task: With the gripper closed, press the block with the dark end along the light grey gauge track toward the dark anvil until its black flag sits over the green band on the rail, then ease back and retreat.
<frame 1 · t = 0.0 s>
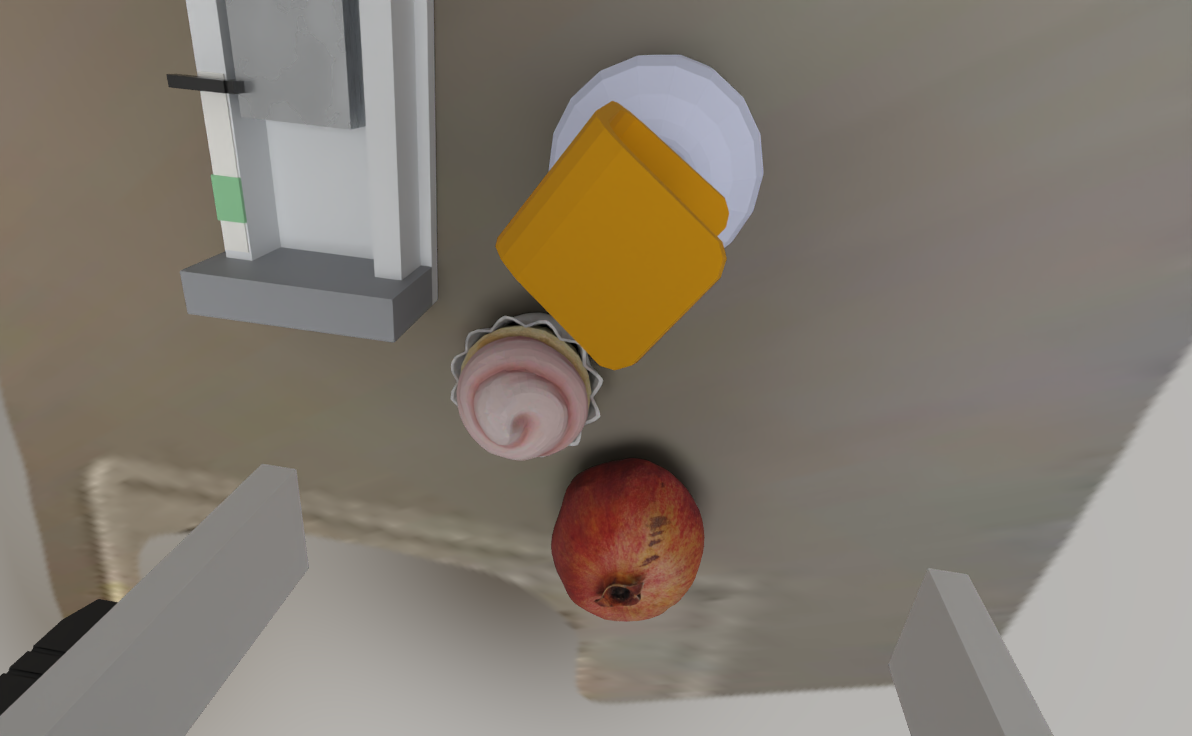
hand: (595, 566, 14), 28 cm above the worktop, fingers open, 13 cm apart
fruit: (631, 494, 47), on the worktop
cupcake: (542, 355, 44), on the worktop
soap bottle: (662, 143, 37), on the worktop
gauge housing: (332, 88, 38), on the worktop
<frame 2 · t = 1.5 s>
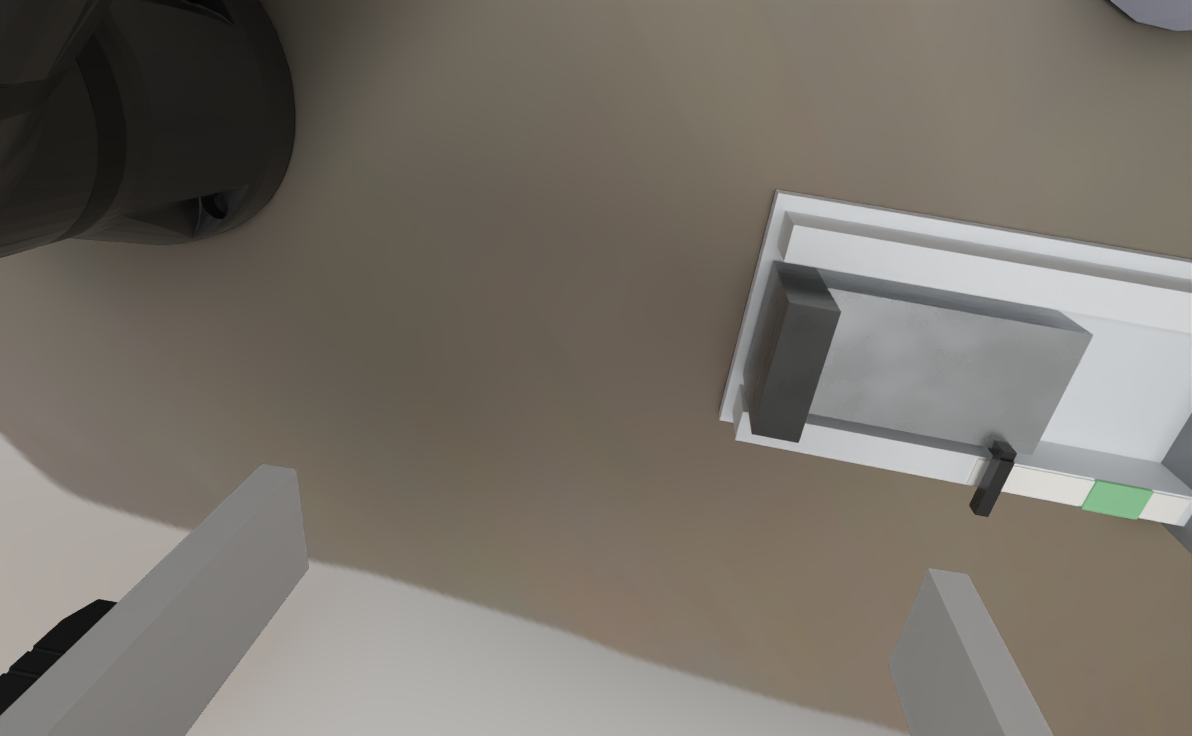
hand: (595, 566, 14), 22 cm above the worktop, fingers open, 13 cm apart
block with dark end: (898, 399, 30), point 4 cm above the worktop, slide at 0.0 cm
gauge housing: (987, 352, 33), on the worktop
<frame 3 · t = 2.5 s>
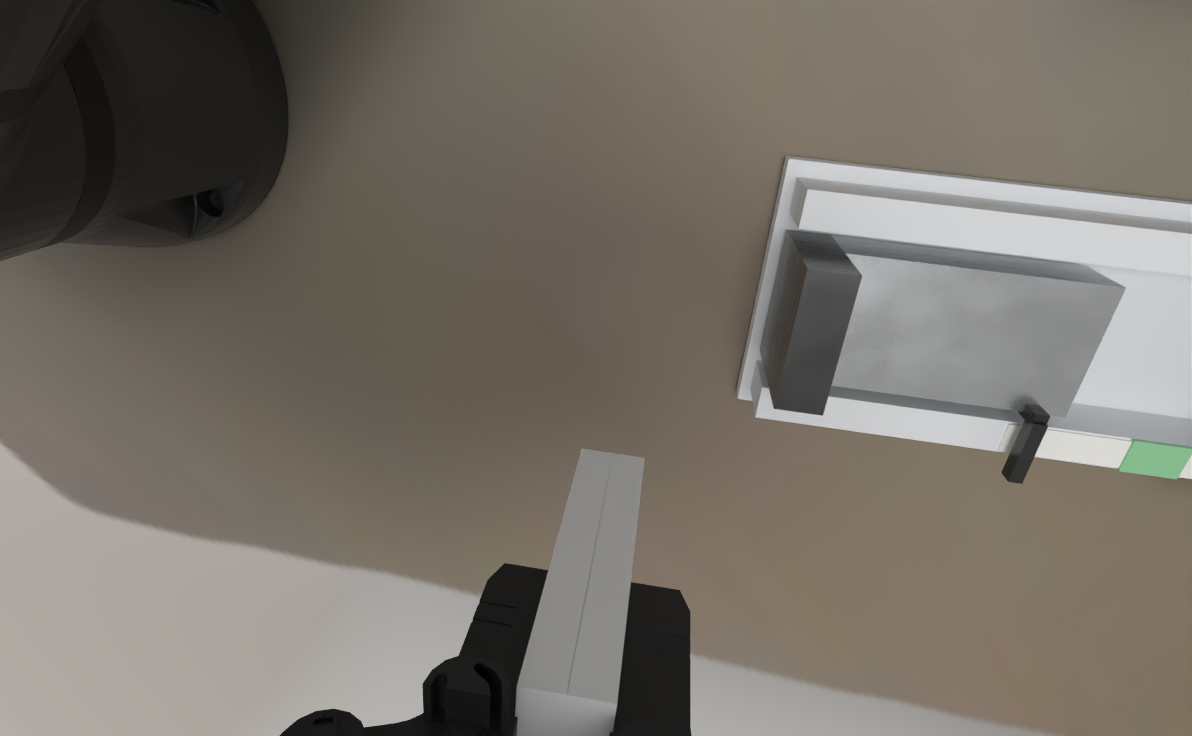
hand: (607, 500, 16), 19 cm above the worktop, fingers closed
block with dark end: (923, 366, 29), point 4 cm above the worktop, slide at 0.0 cm
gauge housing: (1012, 314, 32), on the worktop
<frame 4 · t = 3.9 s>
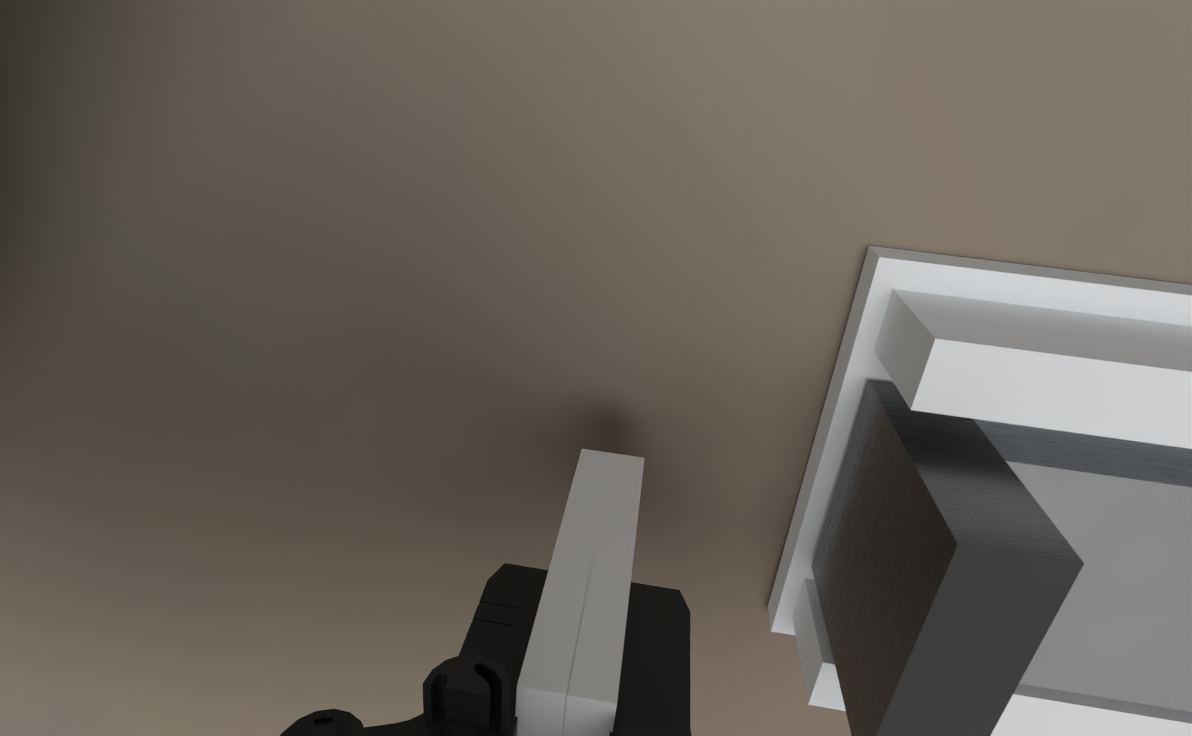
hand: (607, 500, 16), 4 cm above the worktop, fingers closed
block with dark end: (1137, 654, 15), point 4 cm above the worktop, slide at 0.0 cm
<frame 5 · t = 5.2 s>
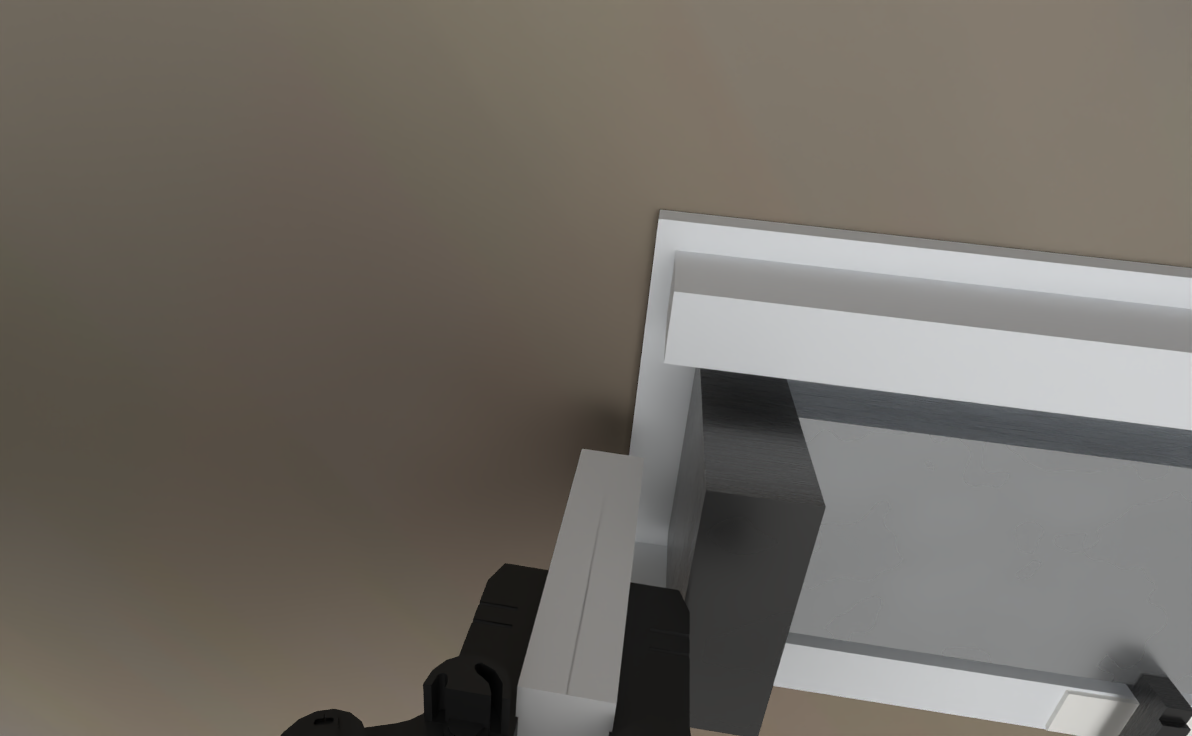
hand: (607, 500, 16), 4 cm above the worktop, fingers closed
block with dark end: (951, 608, 15), point 4 cm above the worktop, slide at 0.9 cm, touching gripper
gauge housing: (1065, 473, 18), on the worktop
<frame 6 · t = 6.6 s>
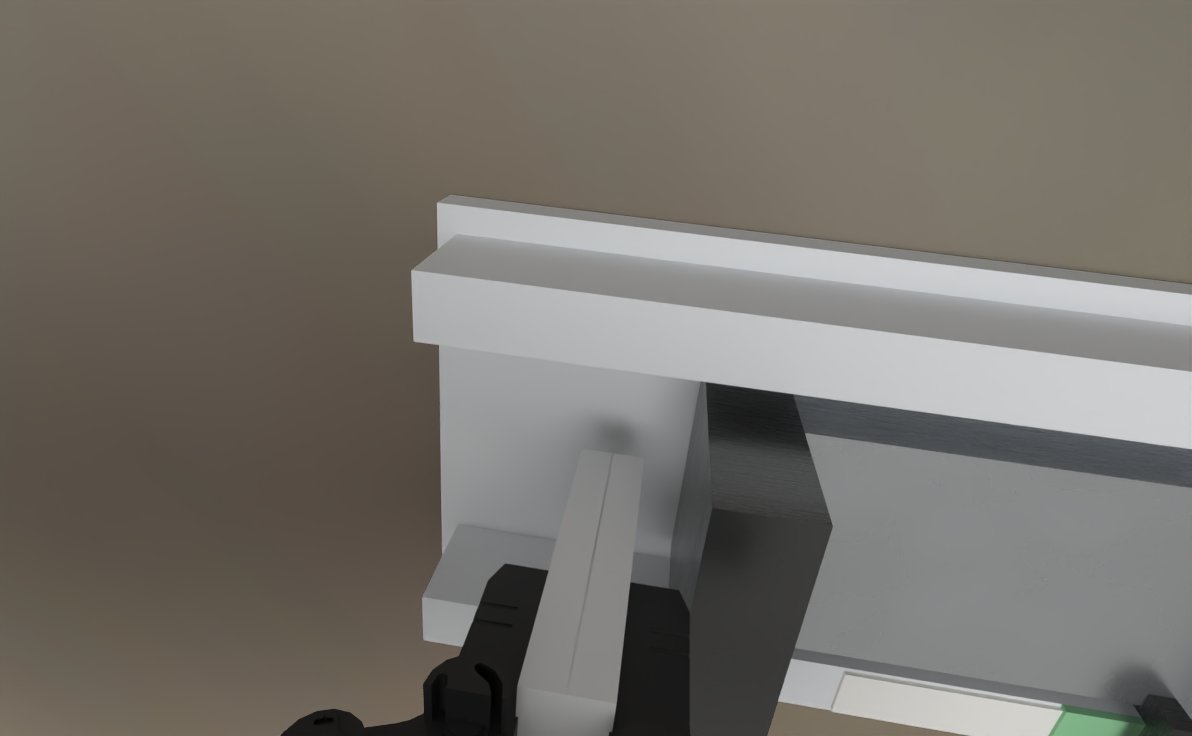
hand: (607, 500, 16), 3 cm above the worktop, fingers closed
block with dark end: (957, 626, 15), point 4 cm above the worktop, slide at 6.4 cm, touching gripper
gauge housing: (867, 460, 19), on the worktop
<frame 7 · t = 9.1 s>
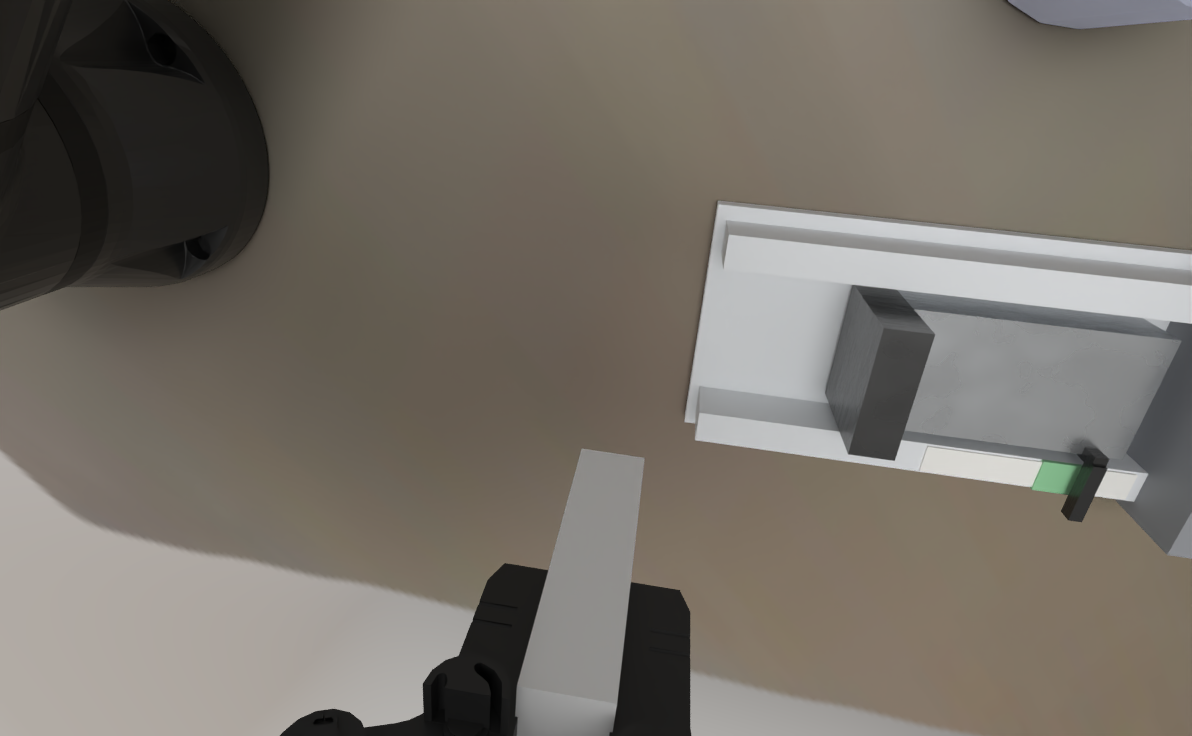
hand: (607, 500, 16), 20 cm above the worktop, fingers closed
block with dark end: (986, 412, 31), point 4 cm above the worktop, slide at 6.4 cm
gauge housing: (934, 343, 34), on the worktop
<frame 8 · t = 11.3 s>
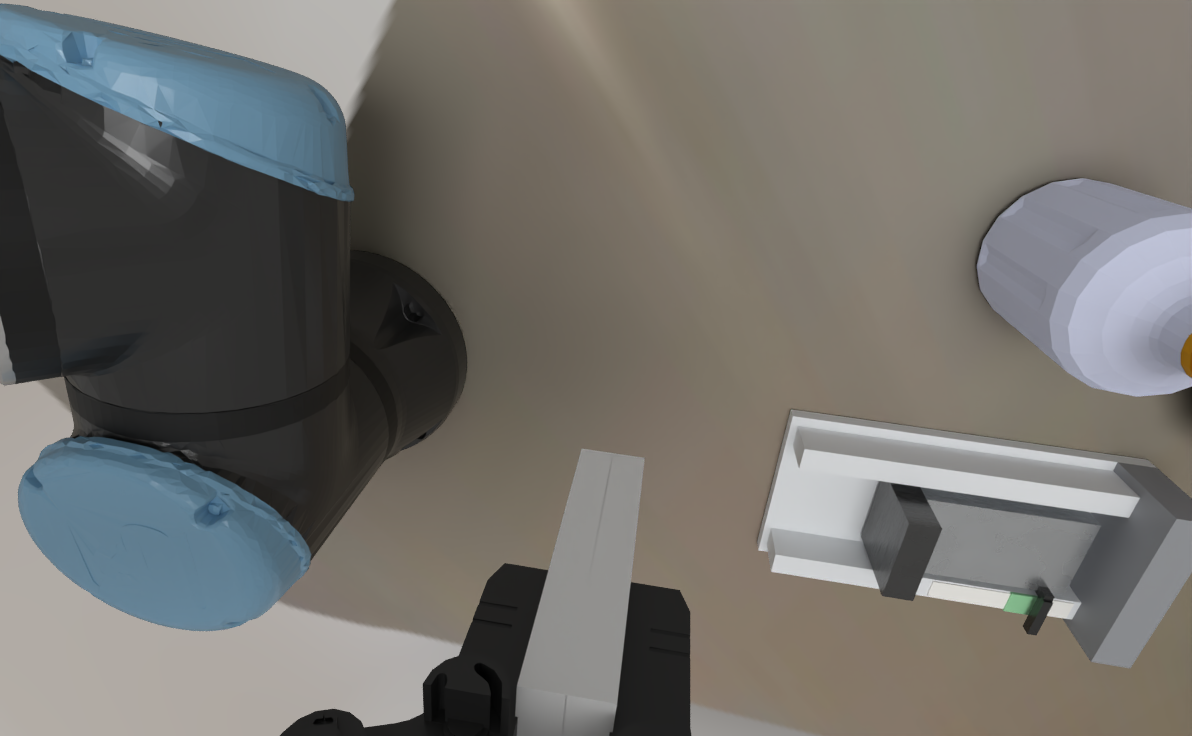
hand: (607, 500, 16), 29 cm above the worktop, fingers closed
block with dark end: (973, 562, 45), point 4 cm above the worktop, slide at 6.4 cm
soap bottle: (1053, 252, 40), on the worktop
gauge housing: (938, 503, 49), on the worktop
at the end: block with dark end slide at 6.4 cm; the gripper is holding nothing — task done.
